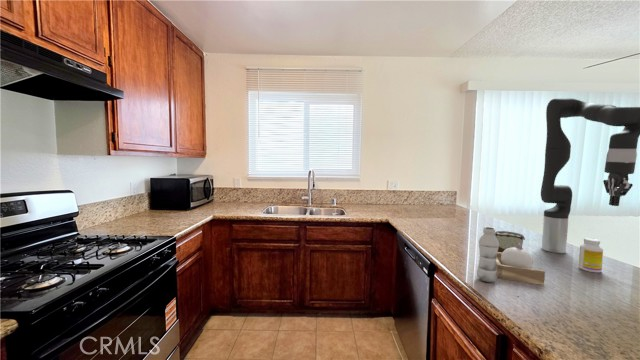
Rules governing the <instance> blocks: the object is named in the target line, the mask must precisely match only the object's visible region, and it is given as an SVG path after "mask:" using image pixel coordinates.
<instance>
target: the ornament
mask: <svg viewBox="0 0 640 360" xmlns="http://www.w3.org/2000/svg"><path fill="white" fill-rule="evenodd" d="M501 263H502V265H507V266H515V267H522V268H529V269H533V264H534V261H533V257H532V256H531V254H530V253H529V252H528V251H527V250H525V249H523V244H522V245H521V244H517V246H516V247H511V248H507V249H505V250H504V251H503V253H502V255H501Z"/></svg>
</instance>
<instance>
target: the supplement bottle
mask: <svg viewBox="0 0 640 360" xmlns="http://www.w3.org/2000/svg"><path fill="white" fill-rule="evenodd" d="M600 244H601V240H600V239H596V238H591V237H584V238H583V243H581V244H580V245H579V257H578V268H579V269H580V270H582V271H585V272H590V273H595V274H597V273H601V272H602V270H603V269H602V268H603V255H604V249H603V247H601V246H600Z"/></svg>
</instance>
